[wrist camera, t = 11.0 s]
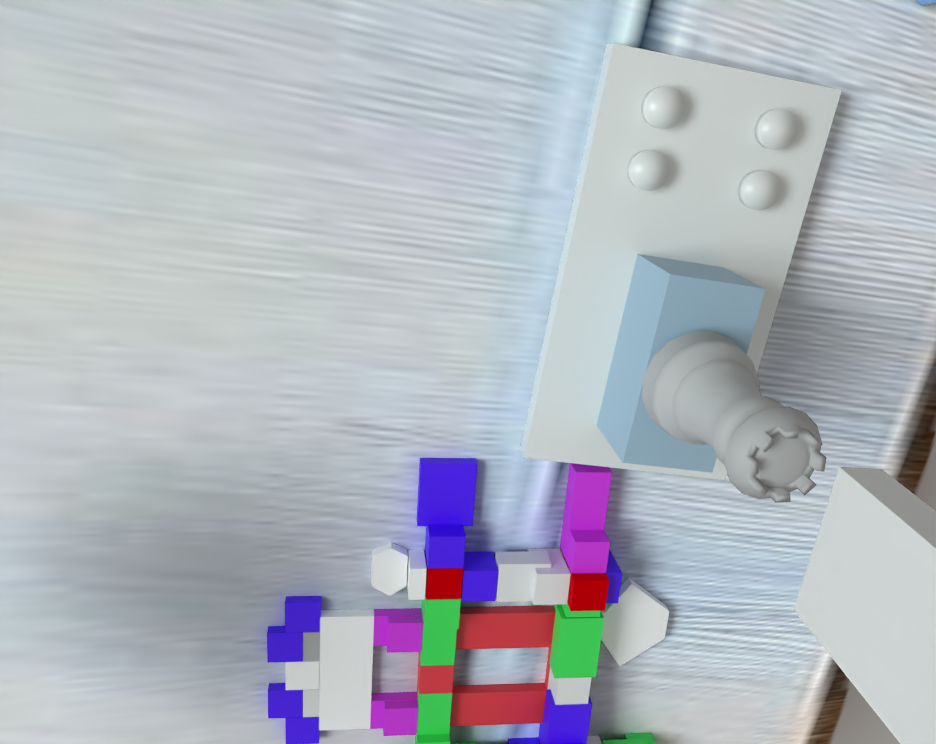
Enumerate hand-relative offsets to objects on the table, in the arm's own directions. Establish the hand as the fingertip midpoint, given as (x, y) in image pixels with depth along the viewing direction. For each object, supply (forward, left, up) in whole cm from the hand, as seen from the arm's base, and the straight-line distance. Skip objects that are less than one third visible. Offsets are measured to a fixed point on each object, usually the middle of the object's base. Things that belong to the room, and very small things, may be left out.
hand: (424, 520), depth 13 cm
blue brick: (+3, +13, -23) cm, 27 cm away
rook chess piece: (+3, +13, -19) cm, 23 cm away
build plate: (0, +13, -24) cm, 27 cm away
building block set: (+22, +8, -25) cm, 34 cm away
